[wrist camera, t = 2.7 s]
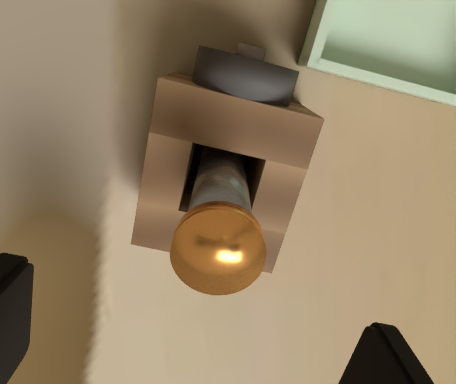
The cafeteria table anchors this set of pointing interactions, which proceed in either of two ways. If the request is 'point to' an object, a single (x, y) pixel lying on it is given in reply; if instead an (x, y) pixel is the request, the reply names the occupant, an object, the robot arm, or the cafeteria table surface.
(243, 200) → the lock pin
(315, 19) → the tray
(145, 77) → the cafeteria table surface
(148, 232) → the block
